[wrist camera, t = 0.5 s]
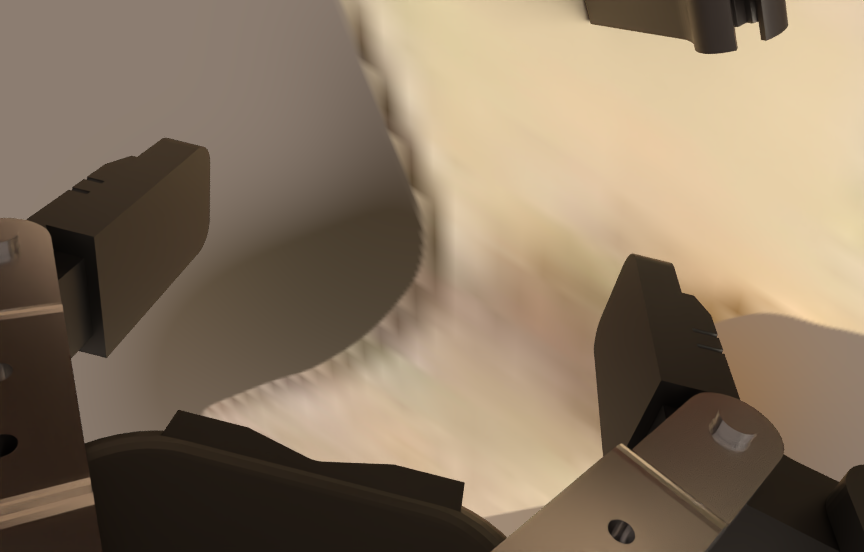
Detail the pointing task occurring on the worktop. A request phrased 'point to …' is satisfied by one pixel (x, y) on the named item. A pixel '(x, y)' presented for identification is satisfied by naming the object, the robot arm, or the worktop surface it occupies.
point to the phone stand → (692, 19)
